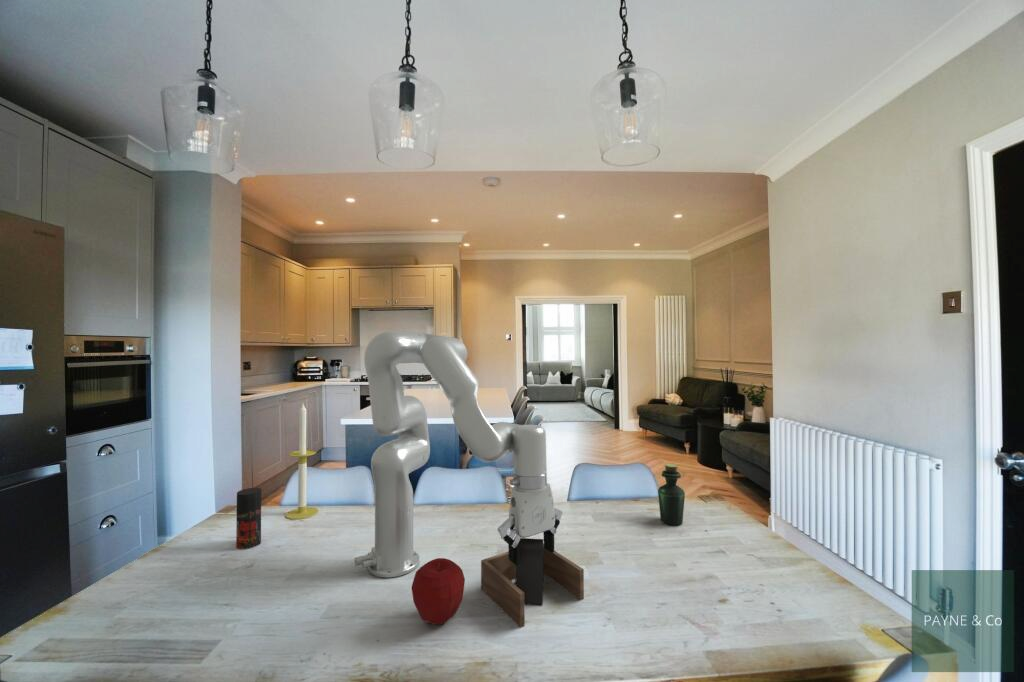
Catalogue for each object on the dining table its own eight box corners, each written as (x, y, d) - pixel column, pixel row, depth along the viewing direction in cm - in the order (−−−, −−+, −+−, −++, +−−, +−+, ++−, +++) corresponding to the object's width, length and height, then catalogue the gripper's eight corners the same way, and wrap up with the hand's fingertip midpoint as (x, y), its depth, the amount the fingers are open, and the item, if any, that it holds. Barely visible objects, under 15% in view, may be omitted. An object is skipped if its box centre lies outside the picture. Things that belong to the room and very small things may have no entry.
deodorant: (231, 547, 116) (231, 493, 116) (251, 538, 121) (252, 486, 121) (245, 550, 113) (246, 496, 114) (265, 541, 119) (266, 489, 119)
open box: (520, 627, 82) (520, 594, 82) (481, 588, 95) (481, 560, 95) (583, 598, 91) (583, 569, 91) (539, 567, 105) (539, 541, 105)
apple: (416, 603, 90) (416, 549, 90) (466, 601, 90) (466, 547, 91) (406, 638, 79) (406, 577, 79) (463, 636, 79) (463, 575, 80)
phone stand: (542, 606, 89) (542, 549, 89) (514, 604, 90) (514, 548, 90) (544, 582, 98) (543, 531, 98) (518, 580, 98) (518, 530, 99)
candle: (290, 509, 143) (290, 400, 143) (321, 506, 145) (322, 399, 146) (281, 520, 133) (282, 404, 134) (315, 517, 135) (315, 403, 136)
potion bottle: (659, 526, 129) (659, 468, 129) (656, 515, 136) (656, 461, 137) (687, 528, 127) (687, 469, 127) (682, 517, 135) (682, 462, 135)
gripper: (507, 492, 86) (509, 575, 86) (570, 477, 96) (572, 551, 95) (489, 483, 92) (491, 560, 92) (549, 469, 102) (551, 539, 102)
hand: (532, 556), depth 94 cm, fingers open, 9 cm apart
